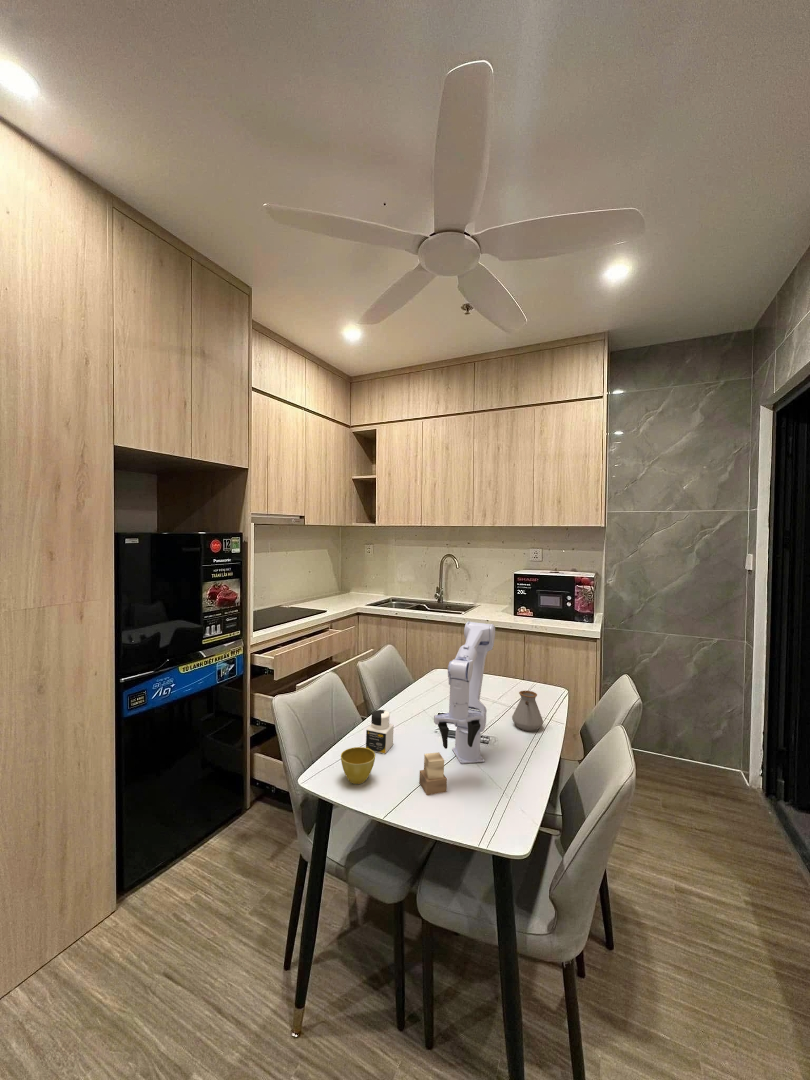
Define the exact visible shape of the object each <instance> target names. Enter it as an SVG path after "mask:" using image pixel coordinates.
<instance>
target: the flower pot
mask: <svg viewBox="0 0 810 1080" xmlns="http://www.w3.org/2000/svg"><path fill="white" fill-rule="evenodd" d="M375 760H376V752H374V751H372V750H370V749H368V748H366V747H361V746H357V747H356V746H355V747H350V748H346V749H344V751H342V752H341V754H340V761H341V766H342V769H343V771H344V772H343V773H344V774H345V777H346V778H347V780H348V782H349V783H350V784H352V785H353V784H354V785H361V784H363V783H365V782H366V781H367V779H368V777H369V776H370V774H371V772H372V770H373V767H374V764H375Z"/></svg>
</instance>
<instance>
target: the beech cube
mask: <svg viewBox="0 0 810 1080" xmlns="http://www.w3.org/2000/svg"><path fill="white" fill-rule="evenodd" d="M423 756H424V759H423V770H424V772H425V774H426V776H427V778H428V779H437V778H444V775H445V773H444V772H445V759H444V758H443V756H442V755H441V752H430V753H424V754H423Z"/></svg>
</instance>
